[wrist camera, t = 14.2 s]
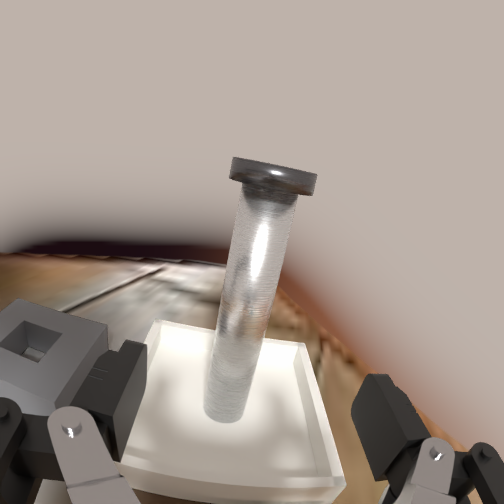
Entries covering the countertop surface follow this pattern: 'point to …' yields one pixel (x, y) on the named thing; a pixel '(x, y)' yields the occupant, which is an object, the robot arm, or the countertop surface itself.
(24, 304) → the block
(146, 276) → the countertop surface
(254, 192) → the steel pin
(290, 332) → the countertop surface
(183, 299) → the countertop surface
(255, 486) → the tray
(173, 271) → the countertop surface
